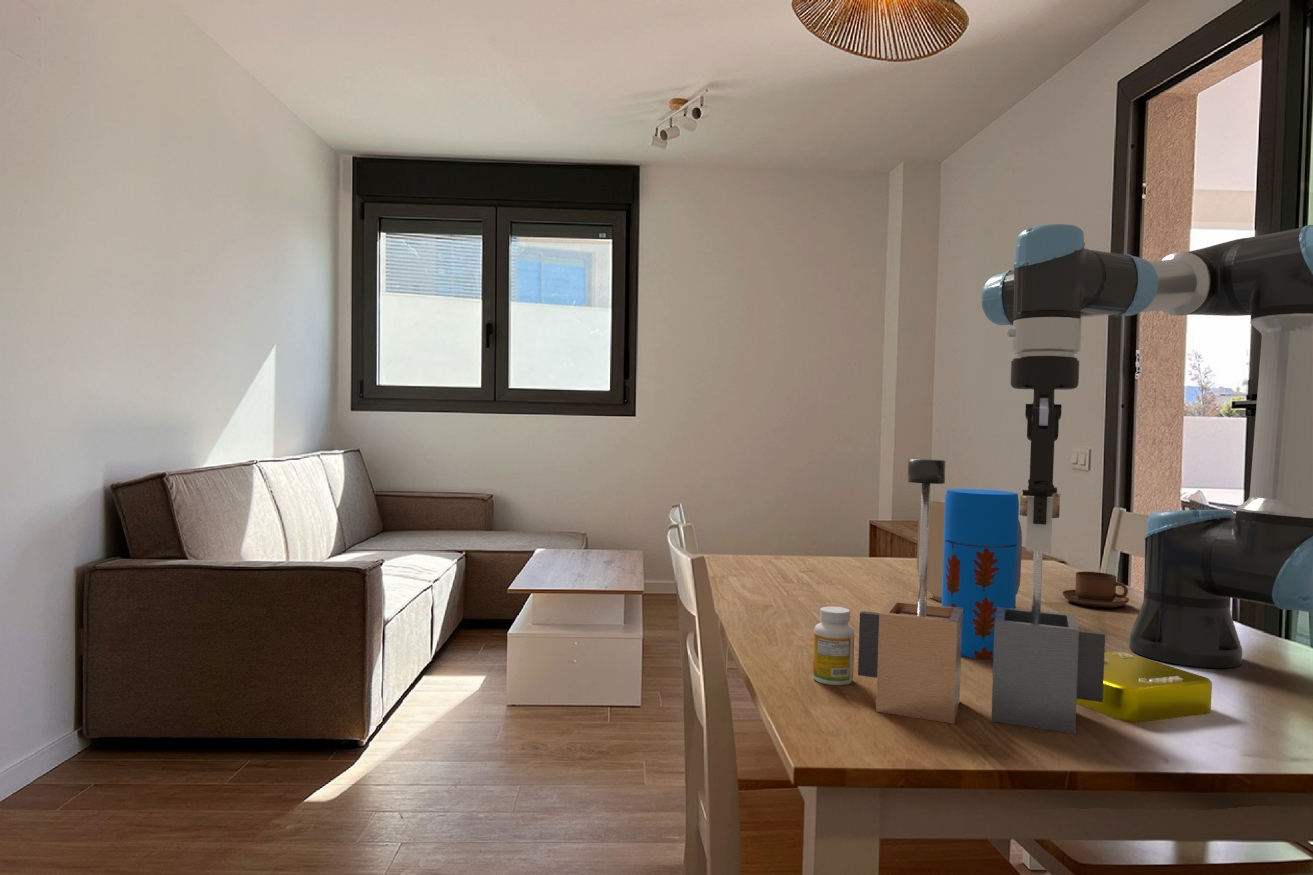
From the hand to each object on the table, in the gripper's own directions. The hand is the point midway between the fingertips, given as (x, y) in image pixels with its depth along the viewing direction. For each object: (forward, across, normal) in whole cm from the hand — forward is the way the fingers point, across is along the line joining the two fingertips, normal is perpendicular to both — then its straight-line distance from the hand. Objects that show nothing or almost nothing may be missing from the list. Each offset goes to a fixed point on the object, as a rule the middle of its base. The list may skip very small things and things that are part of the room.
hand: (1038, 548), depth 105 cm
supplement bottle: (+21, -3, -25) cm, 33 cm away
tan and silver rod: (+14, 0, 0) cm, 14 cm away
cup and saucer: (+21, -81, +12) cm, 84 cm away
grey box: (+20, 0, +2) cm, 21 cm away
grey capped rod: (+10, +3, -13) cm, 17 cm away
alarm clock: (+21, -67, -12) cm, 71 cm away
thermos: (+21, -30, -8) cm, 37 cm away
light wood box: (+20, +3, -15) cm, 25 cm away
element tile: (+21, -13, +11) cm, 27 cm away
